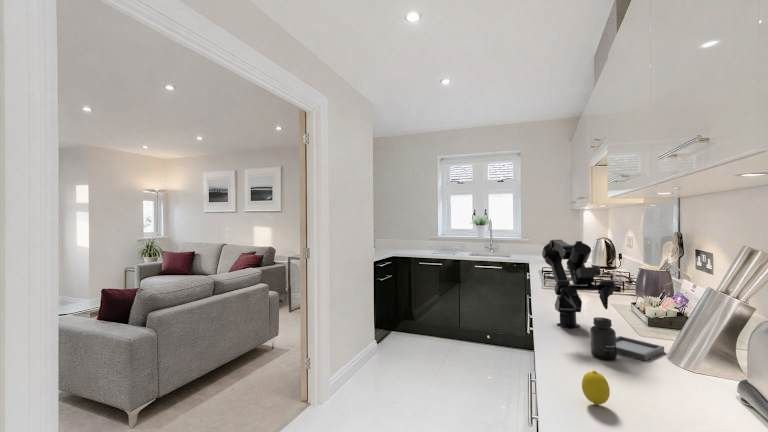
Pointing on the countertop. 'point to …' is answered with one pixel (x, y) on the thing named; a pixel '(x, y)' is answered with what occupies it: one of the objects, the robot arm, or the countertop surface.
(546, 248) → the robot arm
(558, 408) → the countertop surface
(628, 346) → the base plate
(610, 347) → the supplement bottle
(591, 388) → the lemon
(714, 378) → the countertop surface
